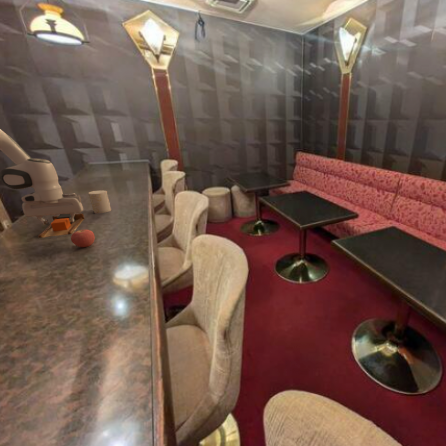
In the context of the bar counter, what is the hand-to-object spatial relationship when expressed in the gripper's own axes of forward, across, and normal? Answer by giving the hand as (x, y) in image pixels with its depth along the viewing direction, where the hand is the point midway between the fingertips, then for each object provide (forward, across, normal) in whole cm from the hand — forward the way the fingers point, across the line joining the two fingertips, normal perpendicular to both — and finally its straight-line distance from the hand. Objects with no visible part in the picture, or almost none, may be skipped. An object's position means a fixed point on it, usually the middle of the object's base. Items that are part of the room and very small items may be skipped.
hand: (59, 222), depth 118 cm
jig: (+4, 0, -2) cm, 4 cm away
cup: (+4, -12, -25) cm, 28 cm away
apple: (+4, -14, +25) cm, 29 cm away
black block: (+3, 0, -8) cm, 9 cm away
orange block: (+3, 0, 0) cm, 3 cm away
